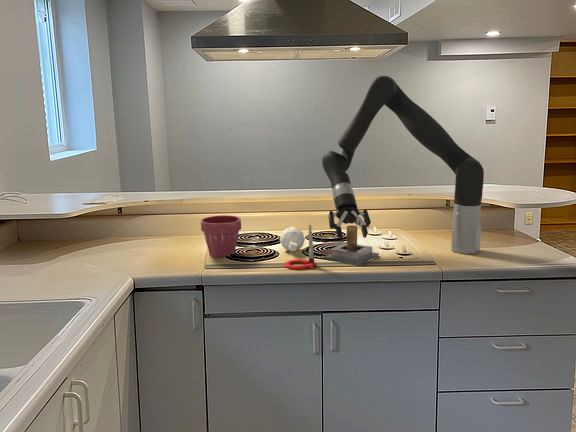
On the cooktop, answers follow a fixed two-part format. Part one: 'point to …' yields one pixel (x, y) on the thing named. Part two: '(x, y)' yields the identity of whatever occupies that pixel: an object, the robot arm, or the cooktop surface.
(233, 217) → the plant pot
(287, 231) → the perfume bottle
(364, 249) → the plate
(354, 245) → the dowel pin
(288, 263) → the tow hook
